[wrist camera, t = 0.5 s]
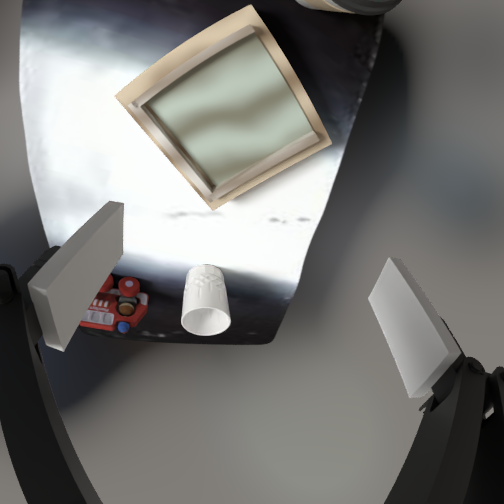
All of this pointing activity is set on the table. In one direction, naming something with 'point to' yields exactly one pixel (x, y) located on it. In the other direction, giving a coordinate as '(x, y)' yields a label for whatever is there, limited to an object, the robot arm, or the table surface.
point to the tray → (226, 108)
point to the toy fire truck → (106, 306)
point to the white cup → (205, 301)
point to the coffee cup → (352, 5)
